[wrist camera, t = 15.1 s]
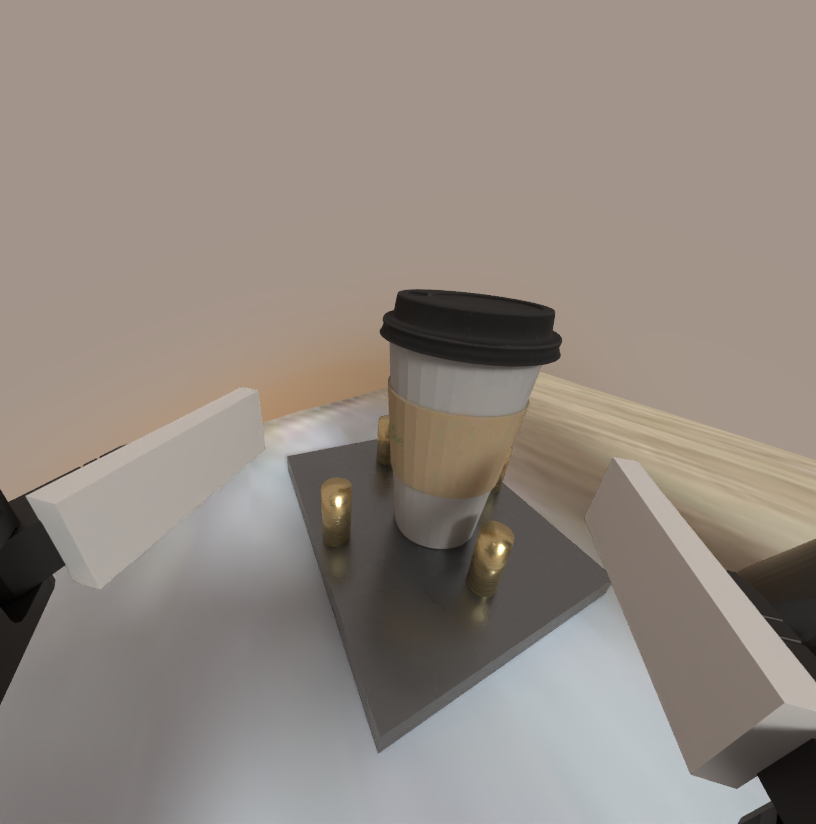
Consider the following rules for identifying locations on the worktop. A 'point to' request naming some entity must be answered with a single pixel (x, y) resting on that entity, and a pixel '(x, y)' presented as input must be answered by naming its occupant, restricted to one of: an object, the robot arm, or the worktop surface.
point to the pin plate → (431, 585)
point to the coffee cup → (457, 402)
